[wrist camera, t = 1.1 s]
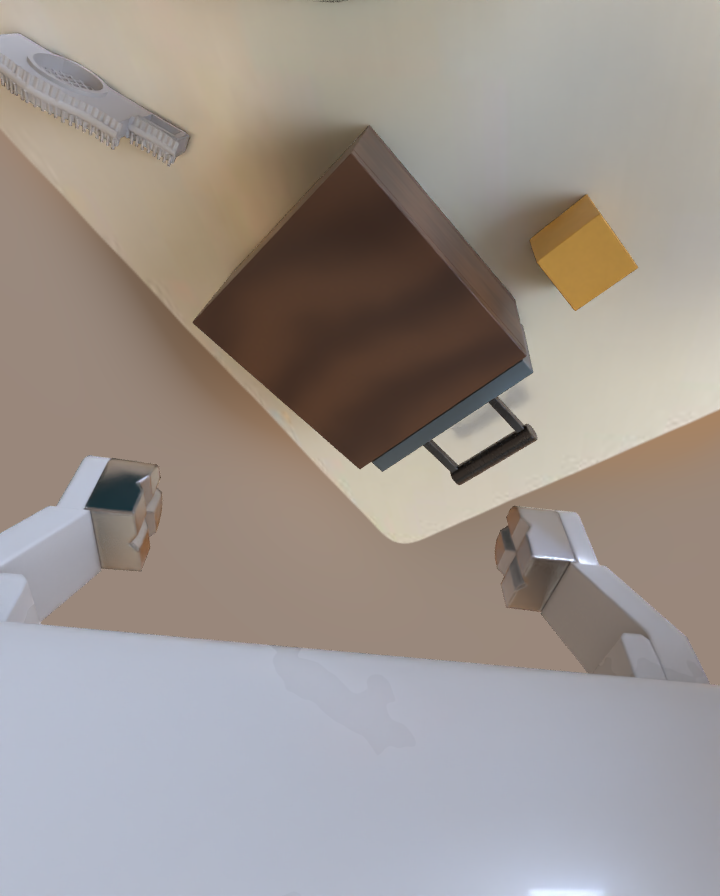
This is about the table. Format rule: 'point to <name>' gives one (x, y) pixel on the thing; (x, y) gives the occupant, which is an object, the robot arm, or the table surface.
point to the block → (581, 253)
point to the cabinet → (366, 308)
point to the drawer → (461, 410)
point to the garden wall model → (83, 98)
